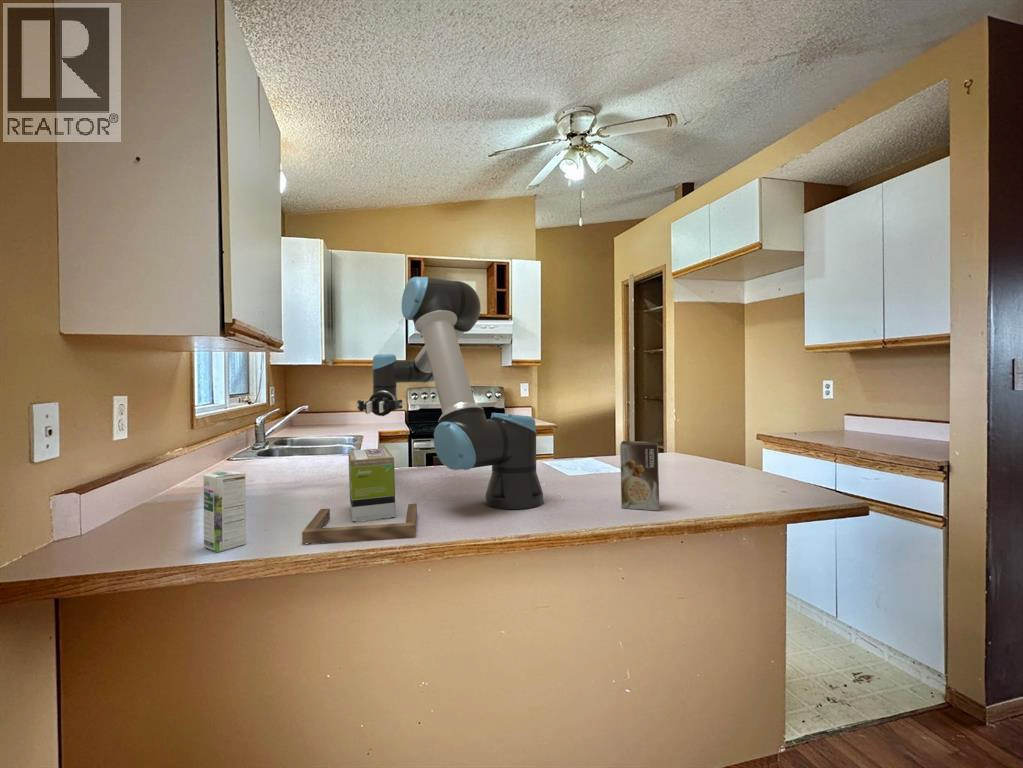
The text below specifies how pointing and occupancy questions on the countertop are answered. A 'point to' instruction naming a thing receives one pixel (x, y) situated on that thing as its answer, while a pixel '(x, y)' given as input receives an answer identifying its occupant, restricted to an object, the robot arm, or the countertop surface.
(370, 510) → the tea box
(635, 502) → the coffee box
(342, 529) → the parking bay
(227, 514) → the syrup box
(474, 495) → the countertop surface
